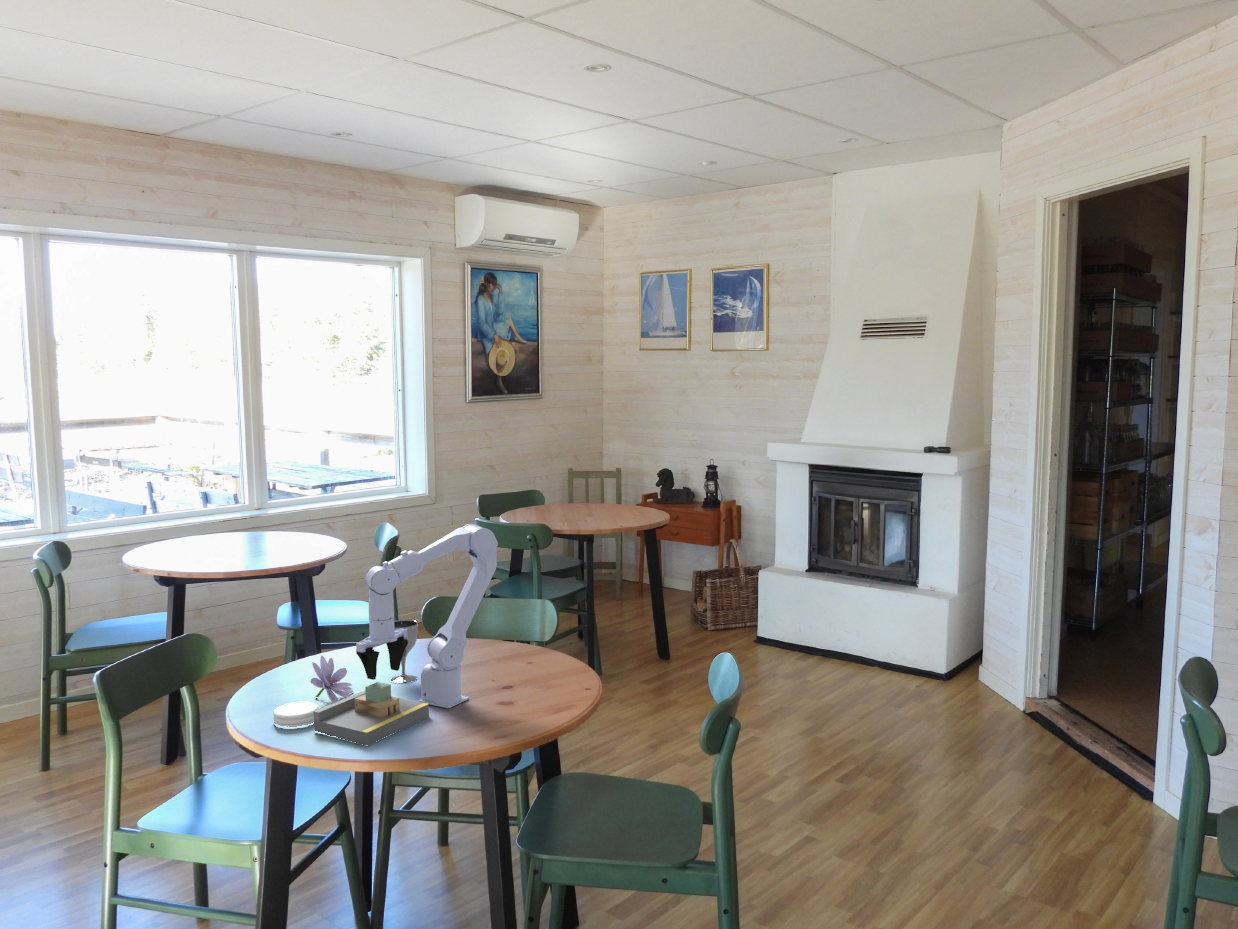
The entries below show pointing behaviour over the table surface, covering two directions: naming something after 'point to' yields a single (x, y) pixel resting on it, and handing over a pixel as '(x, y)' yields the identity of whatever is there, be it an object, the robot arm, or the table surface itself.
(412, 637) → the silver goblet
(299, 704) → the white round disc
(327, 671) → the water lily
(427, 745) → the table surface
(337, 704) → the dock
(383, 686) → the green block
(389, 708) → the pallet
